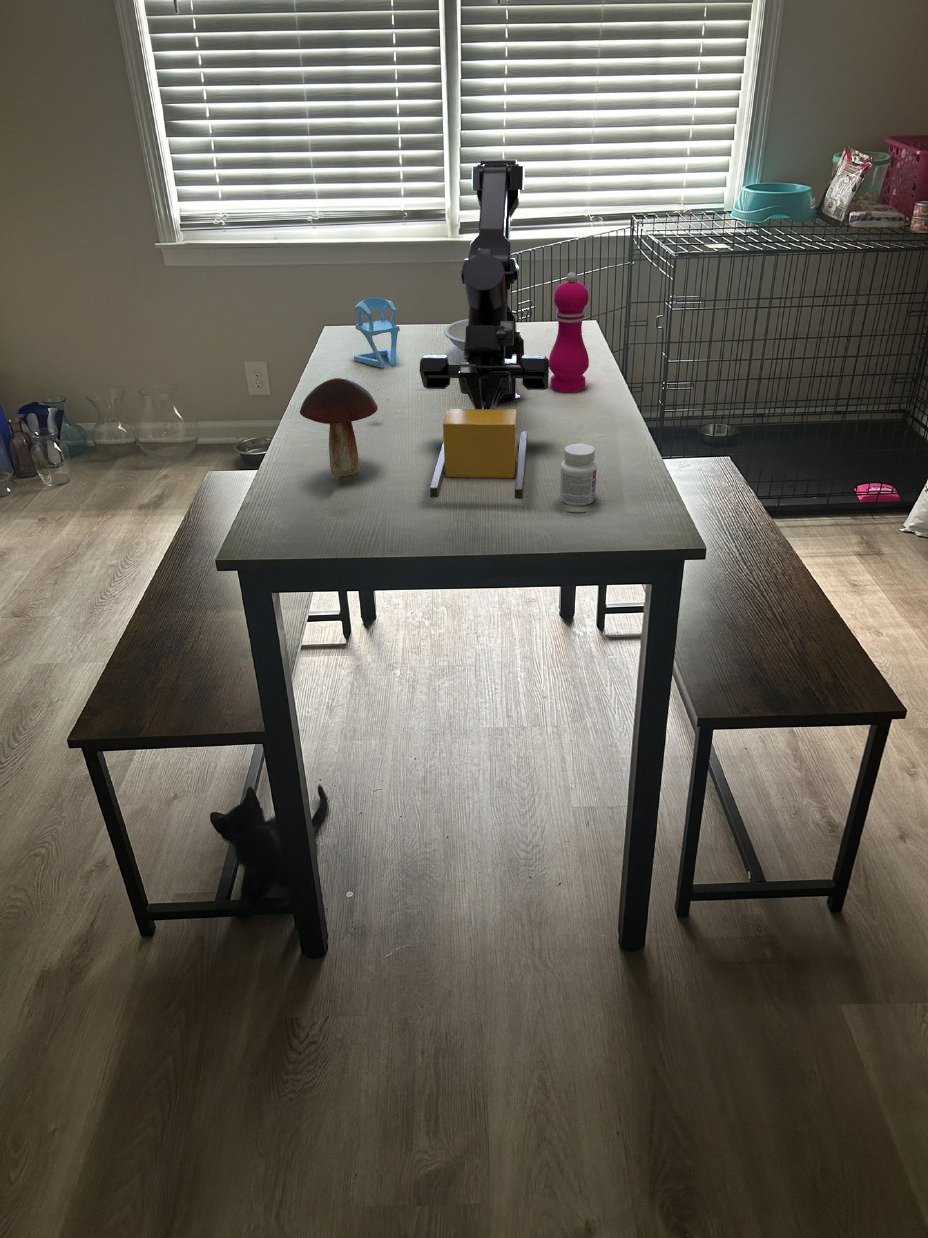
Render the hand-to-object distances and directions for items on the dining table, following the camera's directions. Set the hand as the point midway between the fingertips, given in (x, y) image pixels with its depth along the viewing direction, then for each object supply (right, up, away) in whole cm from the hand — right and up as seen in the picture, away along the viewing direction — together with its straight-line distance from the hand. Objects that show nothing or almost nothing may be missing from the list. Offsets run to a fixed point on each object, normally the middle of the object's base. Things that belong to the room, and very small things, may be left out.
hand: (482, 426), depth 137 cm
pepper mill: (+16, +14, +35) cm, 41 cm away
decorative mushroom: (-20, -8, +2) cm, 22 cm away
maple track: (0, -7, +2) cm, 7 cm away
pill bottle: (+13, -13, -8) cm, 20 cm away
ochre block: (0, -6, 0) cm, 6 cm away
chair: (-19, +23, +50) cm, 58 cm away
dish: (+1, +25, +53) cm, 58 cm away
